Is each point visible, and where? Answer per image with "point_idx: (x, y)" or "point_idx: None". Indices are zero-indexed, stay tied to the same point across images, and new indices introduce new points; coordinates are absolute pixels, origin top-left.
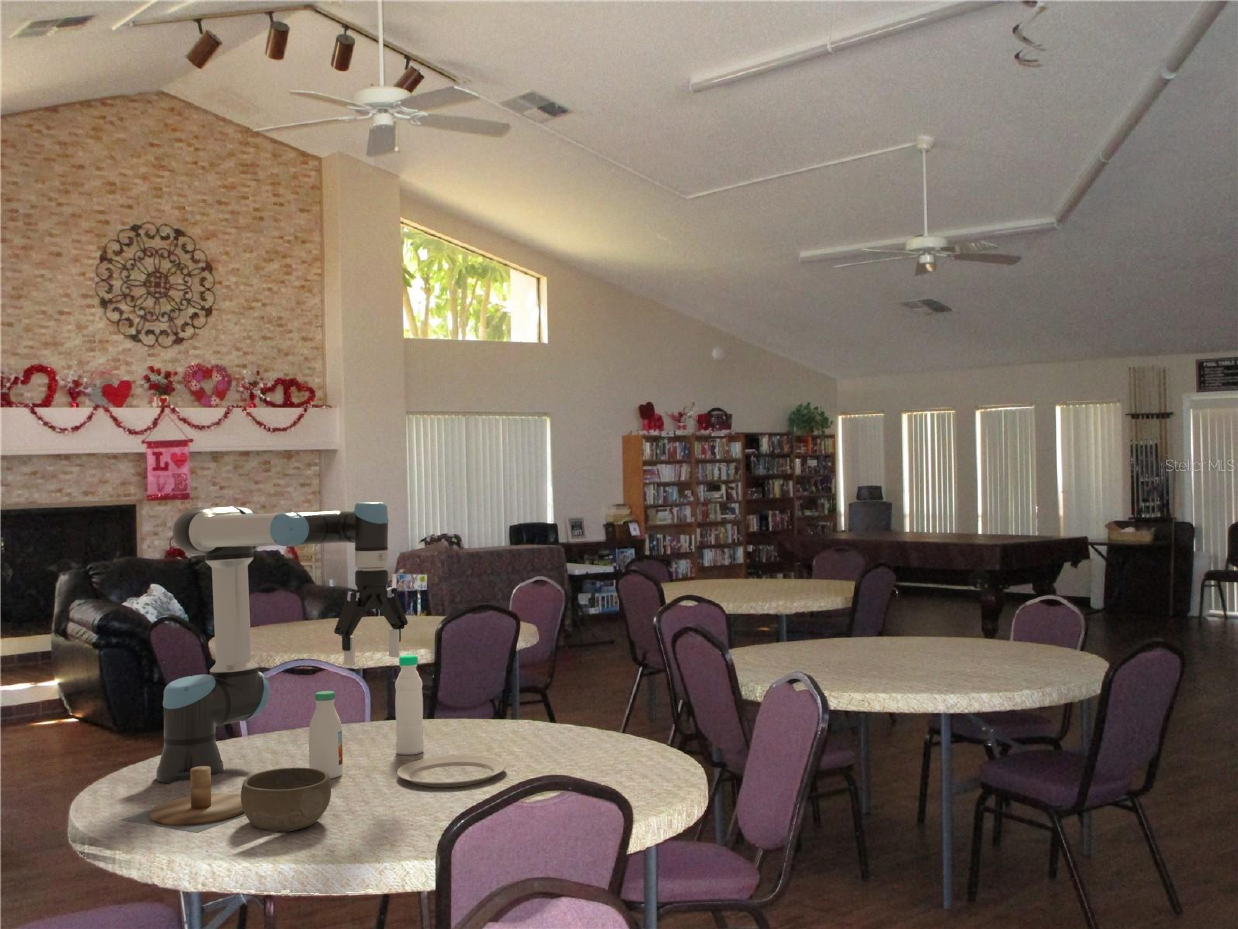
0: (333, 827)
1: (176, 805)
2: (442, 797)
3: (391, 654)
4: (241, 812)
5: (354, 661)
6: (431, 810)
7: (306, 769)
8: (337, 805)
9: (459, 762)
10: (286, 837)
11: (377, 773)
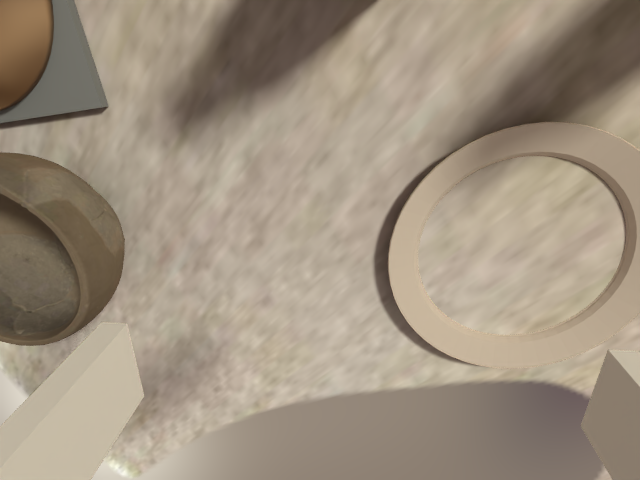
0: (123, 299)
1: None
2: (363, 339)
3: (610, 392)
4: (2, 108)
5: (126, 418)
6: (290, 370)
7: (64, 243)
8: (206, 205)
9: (629, 205)
10: None
11: (462, 63)
